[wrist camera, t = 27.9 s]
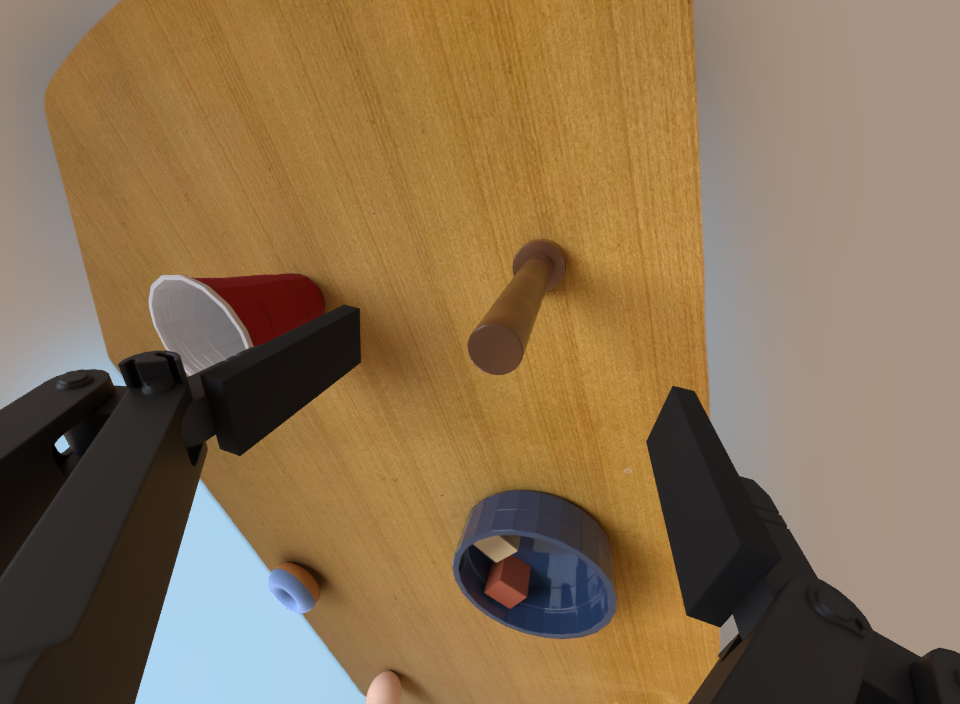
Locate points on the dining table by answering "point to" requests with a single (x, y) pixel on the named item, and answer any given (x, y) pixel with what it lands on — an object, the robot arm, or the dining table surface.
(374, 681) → the egg
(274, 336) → the plastic cup
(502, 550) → the birch block
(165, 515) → the robot arm
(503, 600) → the terracotta block
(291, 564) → the doughnut
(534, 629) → the bowl
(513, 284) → the muddler
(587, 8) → the dining table surface
